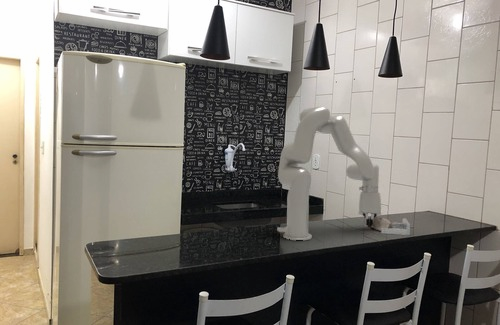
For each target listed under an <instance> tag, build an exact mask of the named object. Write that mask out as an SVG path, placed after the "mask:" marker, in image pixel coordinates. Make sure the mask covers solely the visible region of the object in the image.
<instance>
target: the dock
mask: <svg viewBox="0 0 500 325" xmlns="http://www.w3.org/2000/svg"><path fill="white" fill-rule="evenodd" d="M391 223H392V226H393V227H392V228H381V231H380V233H381V234H384V235H385V234H387V235H401V236H402V235H403V236H410V235H411V224H410V222H409V221H408V219H407V218H405V217H404V218H402V222H396V223H395V222H391Z"/></svg>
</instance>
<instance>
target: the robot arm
mask: <svg viewBox="0 0 500 325" xmlns="http://www.w3.org/2000/svg"><path fill="white" fill-rule="evenodd" d="M299 121H300V122H299V123H298V124H297V127H296V131H295V134H294V139H293V142H288V143H286V144H285V145H284V147H283V148H282V150H281V152H280V153H281V154H280V159H279V165H278V172H277V173H278V174H277V176H278V181H279V183H280V184H281V185H283V186H285V187H289V189H288V192H287V197H286V198H287V199H286V203H287V204H286V206H287V207H286V208H287V209H286V226H284V227H278V226H277V228H276V230H277V232H278V233H283V235H282V236H283V238H284V239H285V238H286V240H289V239H290V241H296V240H303V241H308V240H309V241H310V240H311V239H312V237H313V235H312V234H311V233H309V208H310V207H309V205H310V204H309V199H310V189H311V183H312V175H311V173H310V171H309V170H308V169H307V168H305V167H302V166H298V165H300V164H301V165H305V164H308V163H309V162H310V161H311V160H312V159H311V158H312V153H313V149H314V148H313V147H314V142H315V136H316V132H318V133H322V134H327V135H331V136H332V138H333V140H334V141H333V142H335V145H336V148H337V149H338V152H340V153H341V154H343V155H344V156H347V157H349V158H350V159H351V160H352V161H353V162H354V164H353V163H352V164H350V165H349V166H347V168H346V176H347V177H348V178H349V179H351V180H353V181H354V180H356V181H362V183H361V184H362V186H359V189H358V190H359V191H360V195H359V202H358V213H357V214H358V215H360V216H363V217H364V218H365V219H366V220H365V225H366V226H367V228H371V225H372V226H373V219H374V218H375V217H379V216H382V203H381V202H382V199H381V197H382V196H381V193H380V192H379V182H380V181H379V176H380V175H379V174H380V173H379V170H380V168H379V165H378V164H373V163H372V160H371V158H370V156H369V155H368V154H367V152H366V151H365V150H364V149H363V148H362V147H361V146H360V145H359V144H357V142H356V141H355V138H354V135H353V134H352V131H351V130H350V127H349V123H347V121H346V118H345V117H344V116H341V115H331V111H330V109H329V108H328V107H325V106H315V107H307V108H305V109H303V110H301V112H300V113H299ZM369 214H370V217H369ZM369 222H370V224H369ZM369 226H370V227H369Z"/></svg>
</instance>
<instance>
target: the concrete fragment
mask: <svg viewBox="0 0 500 325" xmlns="http://www.w3.org/2000/svg"><path fill="white" fill-rule="evenodd" d="M392 223H393V222H391V221H390V220H389V219H388V218H384V217H383V218H382V217H379V216H376V217H375V218H374V219H373V226H372V225H371V227H370V226H369V227H368V228H372V229H374V230H376V231H380V232H381V228H392V227H393V226H392ZM369 224H370V221H369Z"/></svg>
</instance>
